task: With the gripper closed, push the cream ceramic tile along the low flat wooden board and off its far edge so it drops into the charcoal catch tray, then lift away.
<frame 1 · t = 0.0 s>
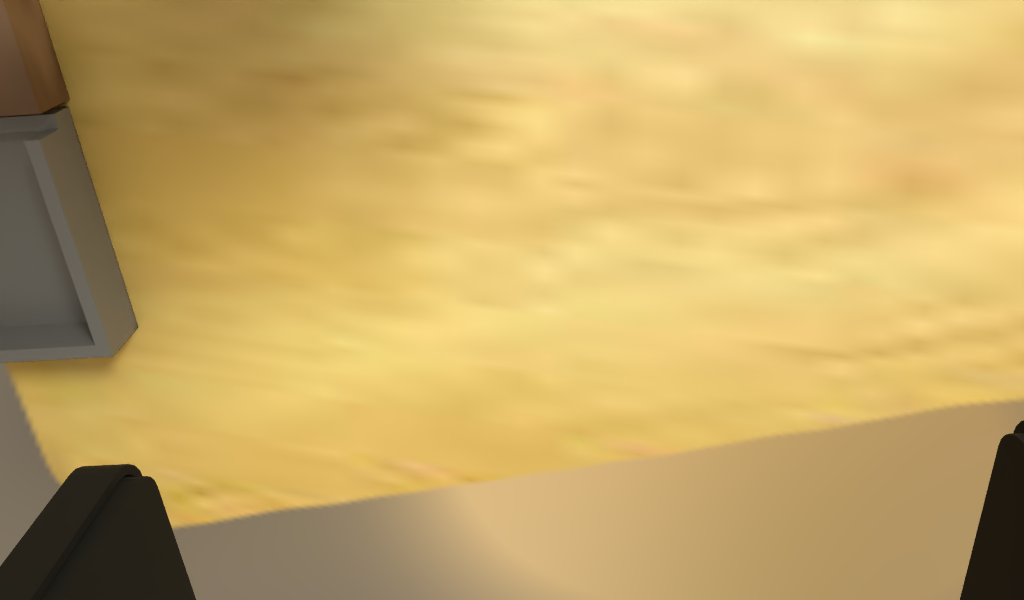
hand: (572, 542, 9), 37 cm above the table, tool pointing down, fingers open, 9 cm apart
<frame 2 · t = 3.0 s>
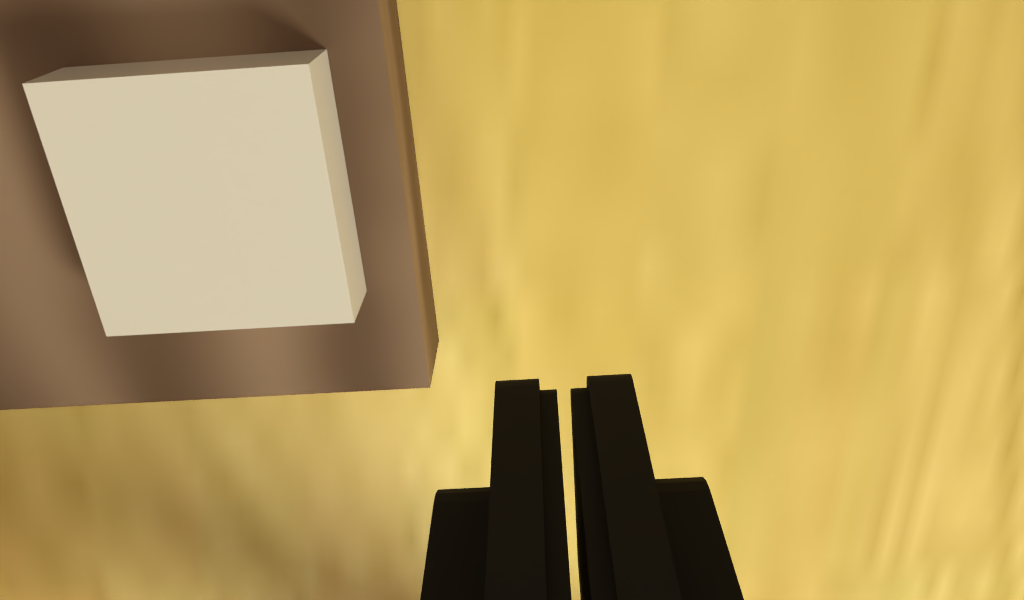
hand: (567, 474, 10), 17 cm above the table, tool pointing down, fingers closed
tile: (224, 186, 23), point 3 cm above the table, touching flat wooden board
flat wooden board: (161, 160, 26), on the table
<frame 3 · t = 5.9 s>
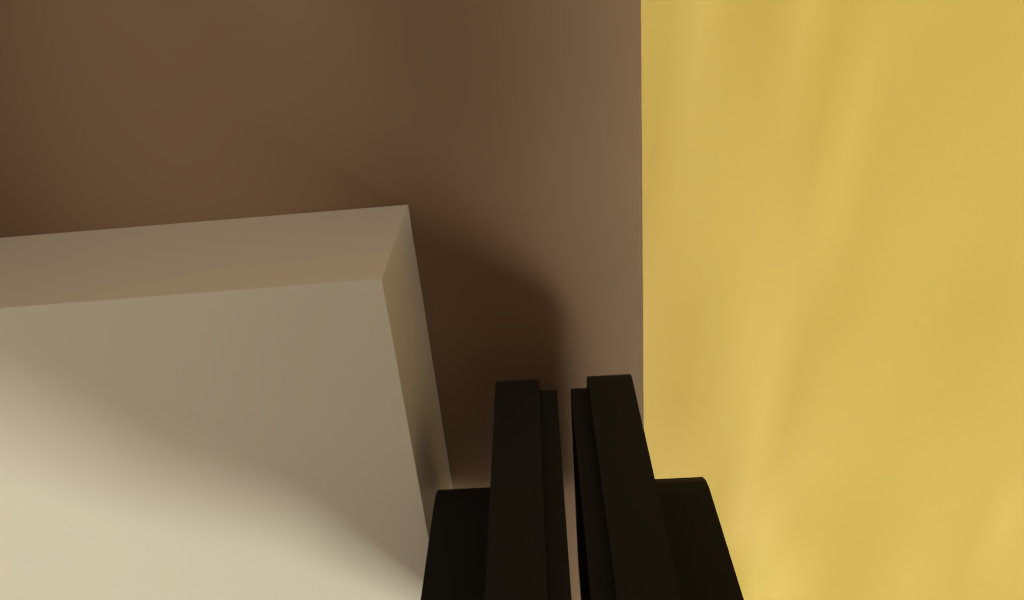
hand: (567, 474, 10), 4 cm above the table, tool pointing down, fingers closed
tile: (195, 462, 11), point 3 cm above the table, touching flat wooden board, gripper
flat wooden board: (153, 358, 14), on the table
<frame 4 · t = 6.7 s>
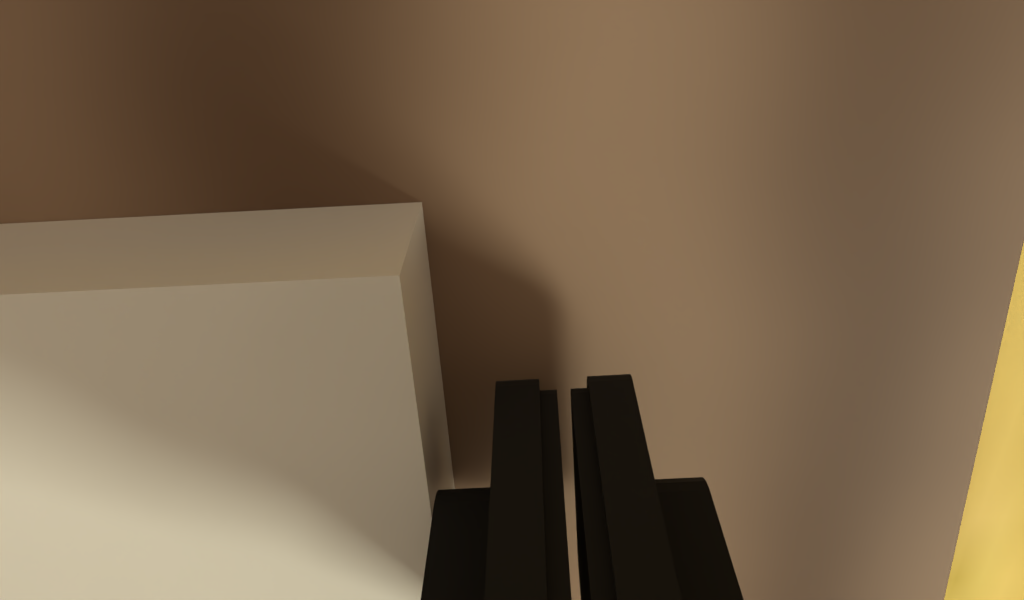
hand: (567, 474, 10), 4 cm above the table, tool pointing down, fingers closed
tile: (196, 454, 11), point 3 cm above the table, touching gripper
flat wooden board: (414, 342, 14), on the table
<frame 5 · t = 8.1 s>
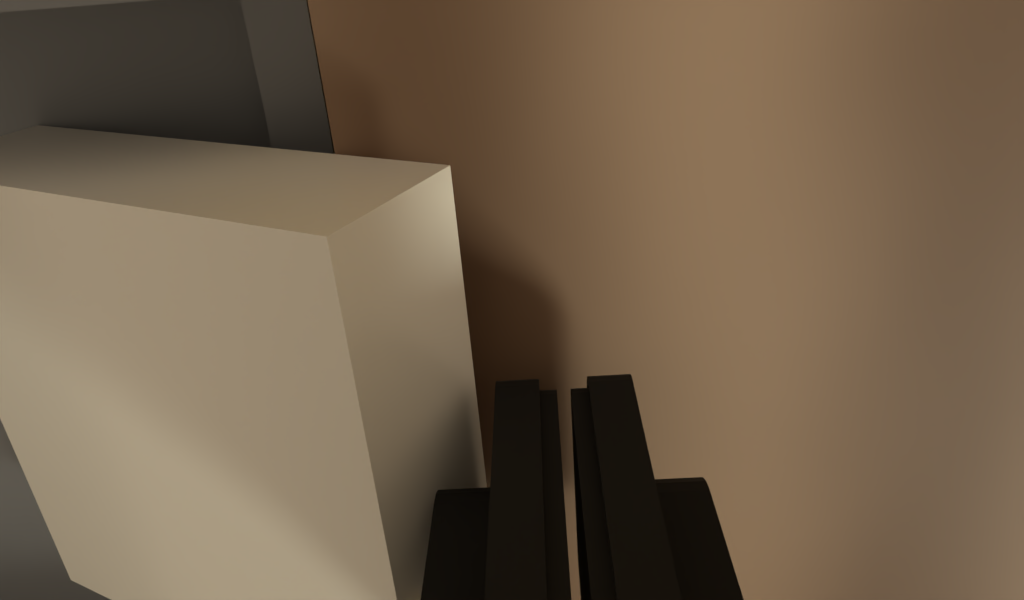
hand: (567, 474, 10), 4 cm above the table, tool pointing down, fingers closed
tray: (1, 364, 14), on the table
tile: (271, 380, 12), point 2 cm above the table, tilted 28°, touching gripper, tray
flat wooden board: (894, 310, 14), on the table
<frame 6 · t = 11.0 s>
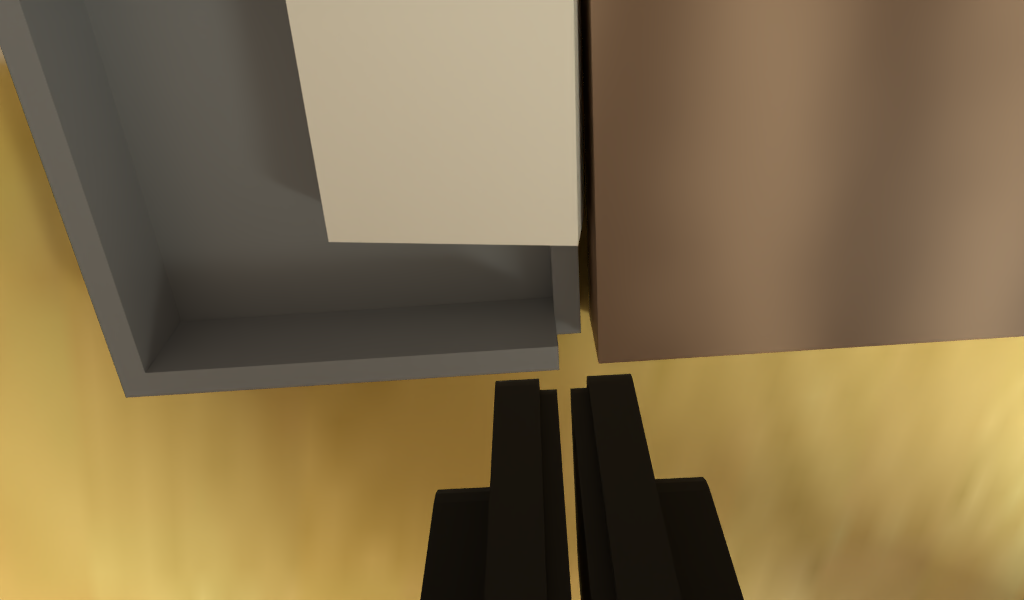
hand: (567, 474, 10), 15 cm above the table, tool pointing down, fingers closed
tray: (336, 121, 24), on the table
tile: (454, 97, 22), point 1 cm above the table, tilted 10°, touching tray
flat wooden board: (861, 83, 23), on the table
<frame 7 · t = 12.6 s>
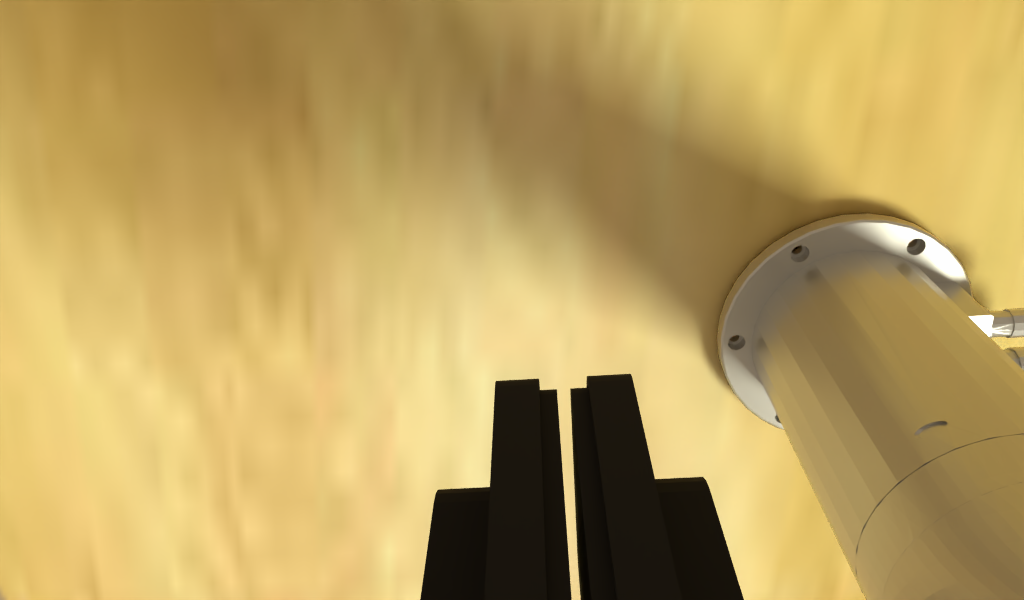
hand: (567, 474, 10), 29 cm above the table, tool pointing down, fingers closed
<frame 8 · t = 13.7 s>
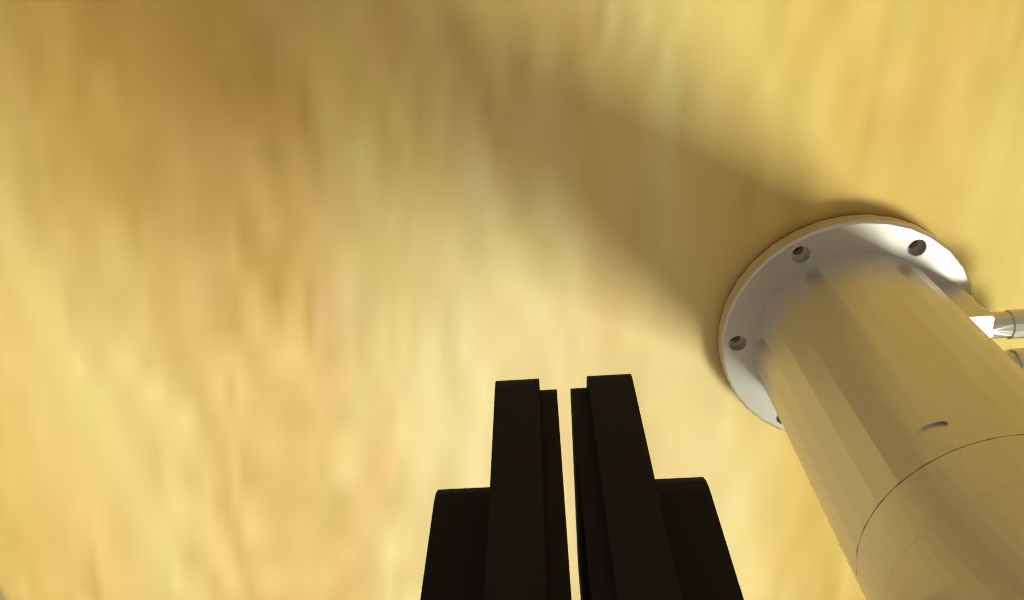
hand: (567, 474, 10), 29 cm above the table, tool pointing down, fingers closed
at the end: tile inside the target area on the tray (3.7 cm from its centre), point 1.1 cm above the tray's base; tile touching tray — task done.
